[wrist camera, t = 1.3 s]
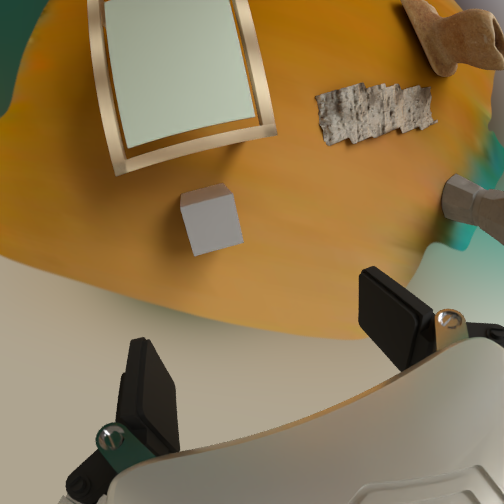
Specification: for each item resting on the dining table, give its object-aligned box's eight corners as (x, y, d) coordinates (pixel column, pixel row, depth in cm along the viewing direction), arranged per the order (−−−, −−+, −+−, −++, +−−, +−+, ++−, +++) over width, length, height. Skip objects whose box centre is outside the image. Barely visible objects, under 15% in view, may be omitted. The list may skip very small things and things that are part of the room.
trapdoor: (105, -22, 12) (98, -37, 9) (214, -45, 13) (219, -63, 10) (130, 148, 19) (121, 149, 17) (252, 117, 21) (262, 114, 18)
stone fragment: (302, 99, 31) (331, 168, 35) (311, 96, 28) (341, 171, 32) (424, 65, 31) (442, 119, 35) (436, 63, 28) (453, 119, 33)
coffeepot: (429, 196, 40) (514, 231, 23) (450, 155, 38) (533, 178, 22) (457, 239, 46) (522, 277, 30) (476, 204, 44) (541, 233, 28)
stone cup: (460, 72, 32) (522, 73, 18) (427, 80, 31) (501, 79, 18) (429, 2, 25) (489, -11, 12) (391, 0, 25) (457, -23, 11)
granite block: (181, 193, 31) (180, 207, 25) (222, 182, 32) (232, 193, 25) (191, 233, 33) (194, 256, 27) (231, 222, 34) (243, 242, 27)
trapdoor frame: (112, 32, 21) (87, -5, 12) (220, 7, 23) (236, -38, 13) (137, 165, 28) (115, 176, 19) (248, 136, 30) (277, 135, 21)
